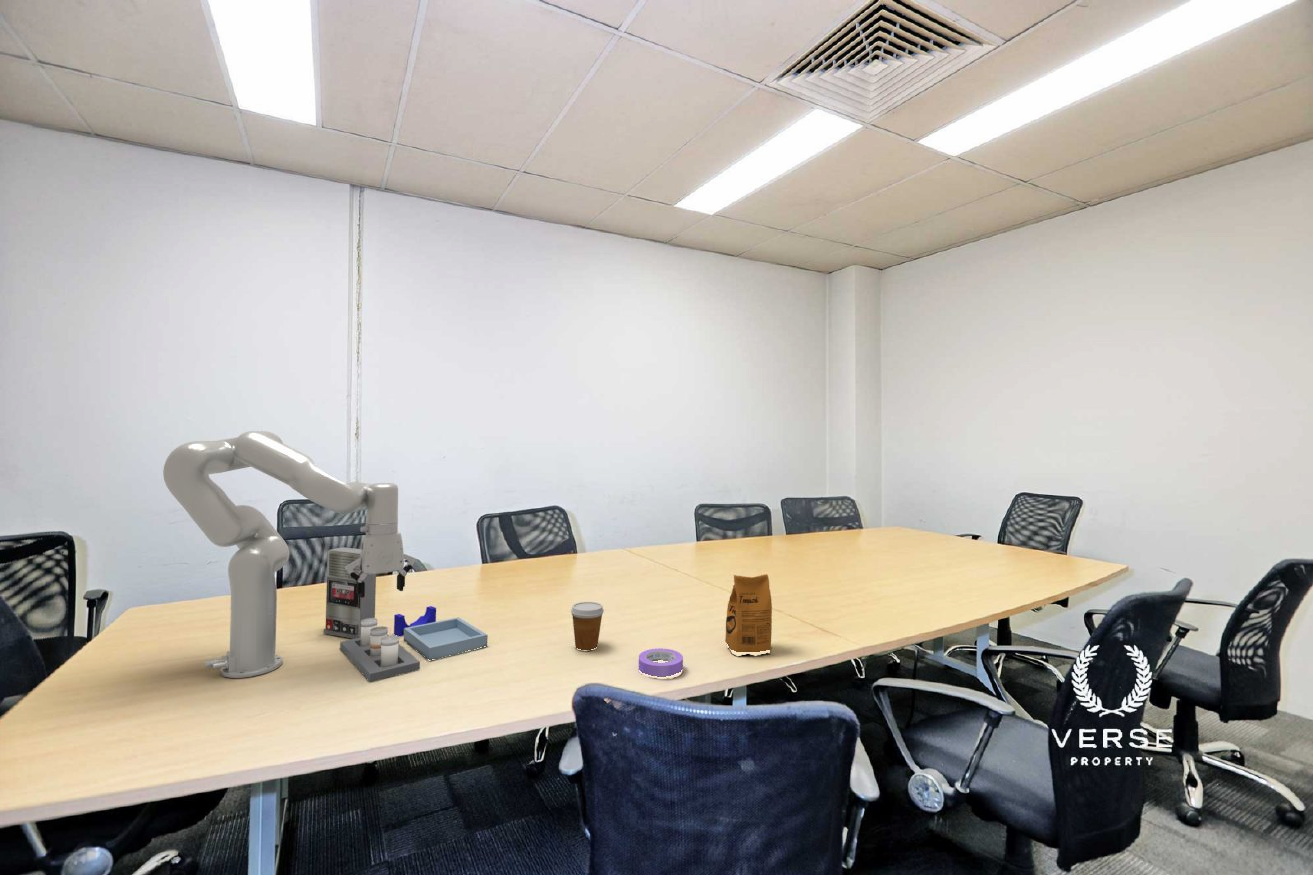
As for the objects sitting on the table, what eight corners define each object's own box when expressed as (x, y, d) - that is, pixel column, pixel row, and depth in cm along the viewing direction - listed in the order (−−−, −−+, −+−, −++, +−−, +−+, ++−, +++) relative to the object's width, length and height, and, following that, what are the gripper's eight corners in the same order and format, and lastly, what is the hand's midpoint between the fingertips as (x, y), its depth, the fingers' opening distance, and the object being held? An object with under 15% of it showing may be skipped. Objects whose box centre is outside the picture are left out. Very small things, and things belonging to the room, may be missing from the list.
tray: (429, 661, 149) (429, 648, 149) (403, 640, 164) (403, 628, 164) (487, 647, 160) (487, 634, 160) (458, 628, 175) (458, 617, 175)
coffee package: (722, 645, 166) (723, 571, 166) (761, 643, 169) (763, 570, 169) (732, 658, 157) (734, 579, 157) (774, 656, 159) (776, 578, 159)
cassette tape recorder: (322, 634, 167) (324, 550, 167) (340, 628, 173) (342, 547, 173) (358, 640, 163) (360, 554, 163) (375, 634, 168) (377, 551, 168)
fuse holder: (369, 682, 136) (370, 674, 136) (340, 648, 156) (340, 641, 156) (419, 669, 144) (419, 661, 144) (385, 639, 164) (385, 632, 164)
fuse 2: (382, 674, 140) (383, 642, 140) (377, 669, 143) (378, 637, 143) (400, 670, 143) (401, 638, 143) (395, 665, 146) (395, 634, 146)
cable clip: (427, 623, 179) (428, 605, 179) (435, 626, 176) (436, 607, 177) (391, 633, 169) (391, 613, 170) (399, 637, 167) (399, 616, 167)
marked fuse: (372, 663, 147) (373, 632, 147) (367, 658, 150) (368, 628, 150) (389, 659, 150) (389, 629, 150) (384, 654, 153) (384, 625, 153)
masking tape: (644, 682, 140) (644, 667, 140) (633, 664, 151) (634, 649, 151) (688, 678, 143) (689, 663, 143) (675, 660, 155) (675, 646, 155)
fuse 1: (362, 653, 154) (363, 623, 154) (357, 648, 157) (358, 620, 157) (378, 649, 156) (379, 620, 156) (374, 645, 160) (374, 617, 160)
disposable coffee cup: (563, 649, 160) (564, 607, 160) (582, 639, 168) (583, 599, 168) (590, 656, 155) (591, 613, 155) (609, 645, 164) (610, 604, 164)
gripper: (350, 534, 142) (349, 602, 141) (420, 528, 153) (419, 590, 153) (342, 530, 147) (341, 596, 147) (410, 524, 159) (409, 585, 159)
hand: (381, 593), depth 150 cm, fingers open, 9 cm apart
